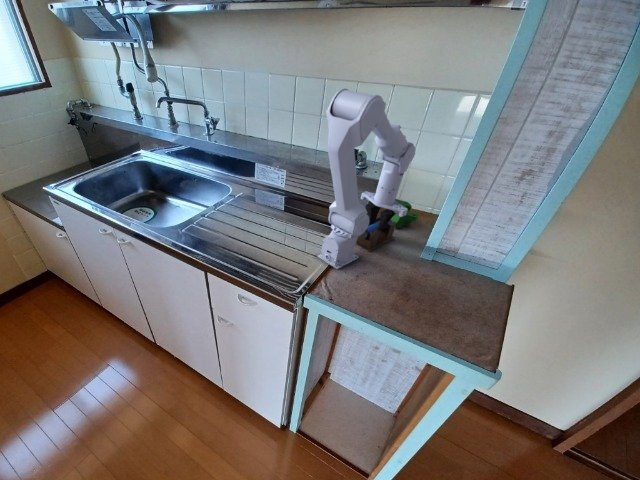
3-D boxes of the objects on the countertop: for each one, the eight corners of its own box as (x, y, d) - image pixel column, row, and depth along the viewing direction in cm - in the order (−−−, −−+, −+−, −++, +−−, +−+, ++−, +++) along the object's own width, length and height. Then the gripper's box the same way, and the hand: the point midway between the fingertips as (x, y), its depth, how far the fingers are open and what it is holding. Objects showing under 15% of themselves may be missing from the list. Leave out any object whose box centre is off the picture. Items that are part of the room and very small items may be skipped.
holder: (369, 251, 99) (374, 234, 95) (351, 241, 103) (356, 224, 99) (391, 239, 104) (397, 222, 100) (373, 230, 108) (378, 214, 104)
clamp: (401, 238, 112) (419, 222, 104) (386, 234, 111) (402, 218, 103) (400, 210, 117) (417, 193, 108) (385, 206, 116) (401, 189, 108)
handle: (365, 240, 99) (368, 232, 96) (357, 235, 100) (361, 227, 98) (389, 228, 103) (393, 220, 101) (382, 223, 105) (386, 215, 103)
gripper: (420, 191, 89) (403, 233, 98) (376, 174, 97) (365, 215, 107) (404, 198, 86) (389, 241, 95) (360, 180, 94) (350, 221, 104)
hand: (375, 228), depth 101 cm, fingers closed on handle, 3 cm apart
